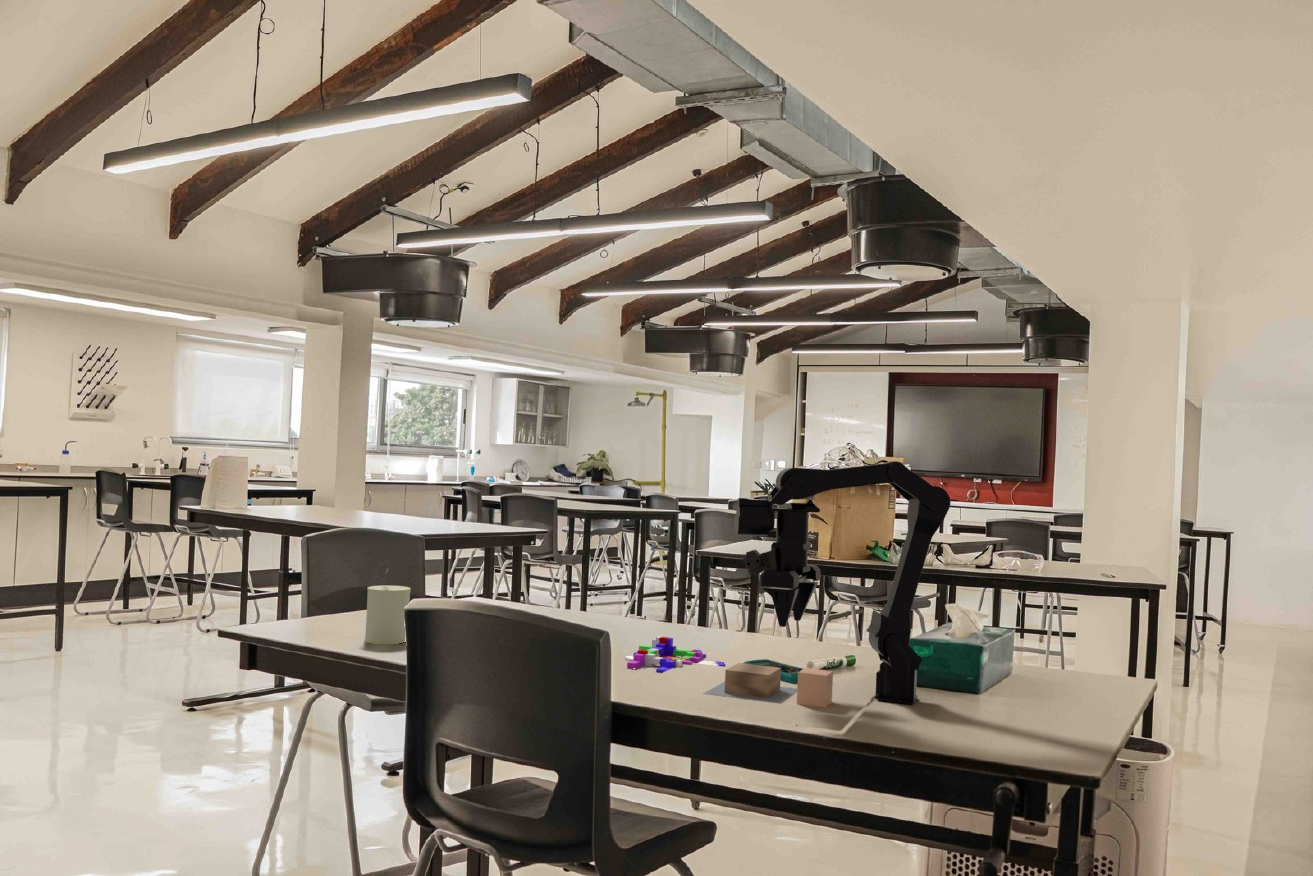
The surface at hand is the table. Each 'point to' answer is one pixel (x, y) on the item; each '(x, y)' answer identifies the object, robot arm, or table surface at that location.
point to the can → (386, 614)
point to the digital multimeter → (787, 671)
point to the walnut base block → (752, 680)
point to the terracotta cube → (814, 687)
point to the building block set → (666, 656)
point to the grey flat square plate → (775, 698)
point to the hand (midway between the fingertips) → (790, 623)
